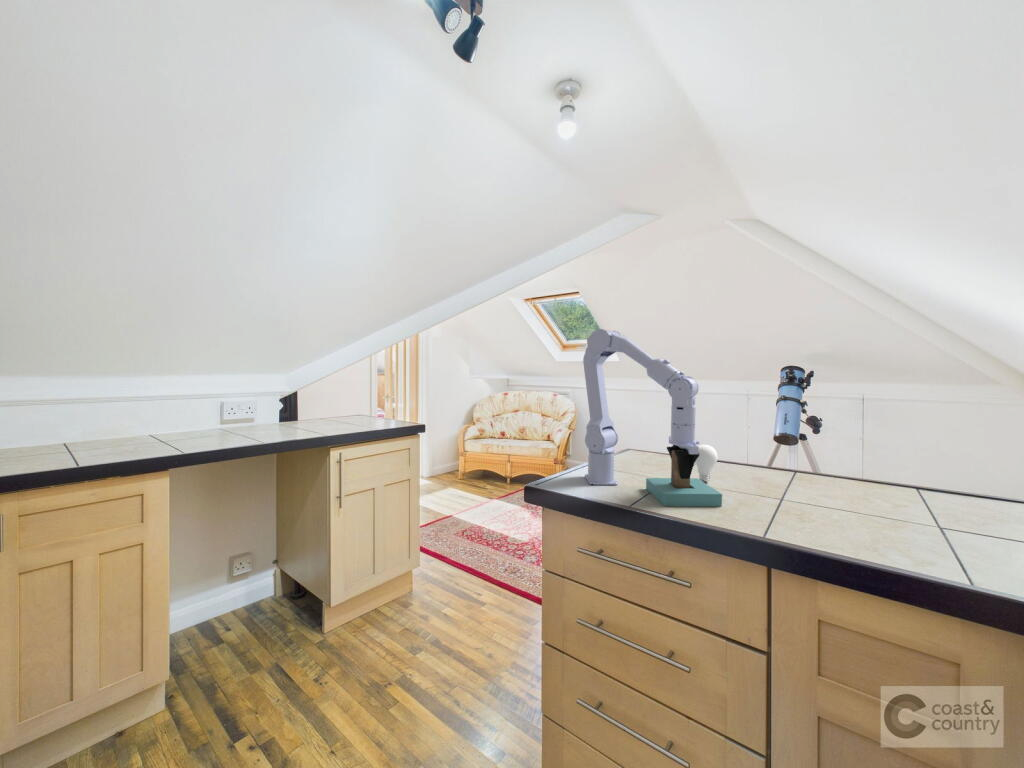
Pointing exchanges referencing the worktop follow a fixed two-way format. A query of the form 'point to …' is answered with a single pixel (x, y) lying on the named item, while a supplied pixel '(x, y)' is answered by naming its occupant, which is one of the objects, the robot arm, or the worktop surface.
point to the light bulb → (706, 461)
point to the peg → (677, 474)
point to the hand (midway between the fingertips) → (681, 476)
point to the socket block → (683, 493)
